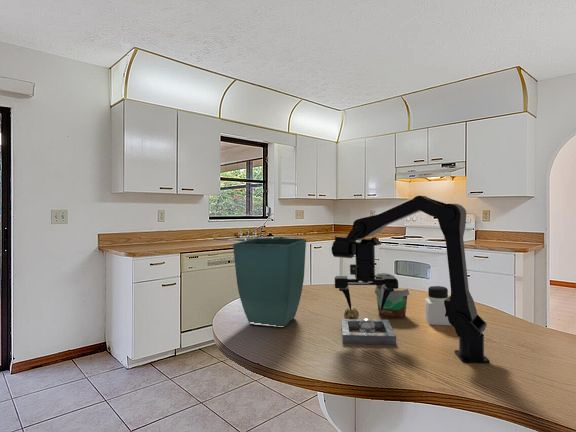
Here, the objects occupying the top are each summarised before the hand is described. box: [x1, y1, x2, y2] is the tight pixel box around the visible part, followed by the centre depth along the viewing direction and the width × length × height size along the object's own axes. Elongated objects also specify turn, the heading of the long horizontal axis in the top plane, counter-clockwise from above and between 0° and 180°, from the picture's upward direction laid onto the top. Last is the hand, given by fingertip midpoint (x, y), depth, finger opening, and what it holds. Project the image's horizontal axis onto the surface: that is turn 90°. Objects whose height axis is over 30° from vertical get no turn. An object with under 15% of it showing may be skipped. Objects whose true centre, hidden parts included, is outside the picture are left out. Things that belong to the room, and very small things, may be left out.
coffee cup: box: [375, 272, 394, 289], centre depth 156 cm, size 8×8×10 cm
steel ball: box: [358, 317, 376, 333], centre depth 110 cm, size 5×5×5 cm
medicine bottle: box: [424, 285, 453, 327], centre depth 121 cm, size 7×7×12 cm
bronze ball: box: [343, 307, 360, 319], centre depth 123 cm, size 5×5×5 cm
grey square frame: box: [340, 318, 397, 346], centre depth 110 cm, size 15×15×2 cm
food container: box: [373, 286, 410, 320], centre depth 128 cm, size 12×6×10 cm, turn 62°
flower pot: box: [232, 237, 307, 327], centre depth 125 cm, size 20×20×28 cm
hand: (365, 310), depth 110 cm, fingers open, 9 cm apart
